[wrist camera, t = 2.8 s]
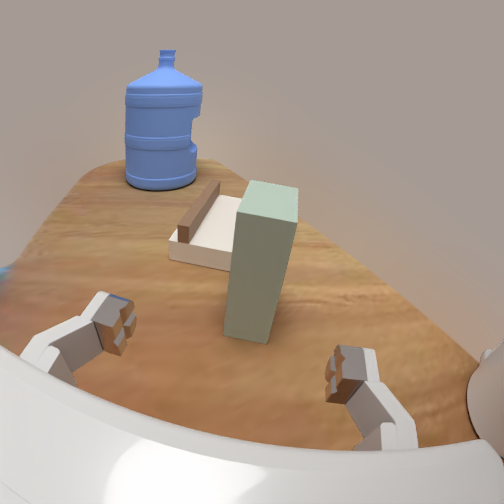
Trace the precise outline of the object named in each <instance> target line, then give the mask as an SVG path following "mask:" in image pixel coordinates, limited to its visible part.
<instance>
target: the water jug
mask: <svg viewBox="0 0 504 504" xmlns="http://www.w3.org/2000/svg"><path fill="white" fill-rule="evenodd" d="M175 52H176V50H160V58H159V66H158V68H157V70H155V71H153V72H152V73H149V74H148V75H145V76H144V77H141V78H140V79H138V80H136V81H134V82H132V83H130V84H128V86H127V90H126V96H125V105H126V123H125V124H126V125H125V127H126V128H125V146H126V170H125V172H126V180H127V181H128V183H129V184H131V185H132V186H134V187H137V188H140V189H145V190H170V189H176V188H180V187H183V186H185V185H188V184H189V183H191V182H192V181H193V180H194V179H195V177H196V170H197V167H196V158H197V146H196V145H195V144H194V143H193V142H192V141H191V128H192V120H193V119H194V118H196V117H198V116H199V115H200V106H201V102H202V84H201V83H198V82H197V81H195V80H193V79H191V78H190V77H187V76H186V75H184V74H182V73H180V72H178V71H176V70H175V68H174V61H175V57H174V55H175Z"/></svg>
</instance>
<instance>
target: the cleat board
mask: <svg viewBox="0 0 504 504" xmlns="http://www.w3.org/2000/svg"><path fill="white" fill-rule="evenodd" d="M219 190H220V181H214V180H211V181H210V183H209V184H208V185H207V187H206V188H205V189H204V190H203V192H202V193H201V194H200V196H199V197H198V198H197V199H196V201H195V202H194V203H193V205H192V206H191V207H190V209H189V210H188V211H187V213H186V214H185V215H184V217H183V218H182V219H181V221H180V222H179V223H178V228H177V229H176V230H175V232H174V233H173V235H172V236H171V237H170V239H169V259H171V260H175V261H180V262H185V263H190V264H195V265H200V266H205V267H210V268H215V269H220V270H225V271H230V266H231V257H232V248H233V239H234V230H235V222H236V213H237V210H238V207H239V205H240V203H241V201H242V199H240V198H235V197H229V196H223V195H219Z"/></svg>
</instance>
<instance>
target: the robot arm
mask: <svg viewBox="0 0 504 504" xmlns="http://www.w3.org/2000/svg"><path fill="white" fill-rule="evenodd" d="M133 309H134V303H133V301H131V300H128V299H125V298H122V297H119V296H116V295H113V294H109V293H106V292H103V291H100V292H98V293H97V294H96V295H95V297H94V298H93V299H92V301H91V302H90V303H89V305H88V306H87V307H86V309H85V310H84V312H83V313H82V314H81V316H75V317H73V318H71V319H69V320H67V321H65V322H63V323H60V324H58V325H56V326H54V327H52V328H50V329H48V330H46V331H44V332H41V333H39V334H37V335H35V336H34V337H33V338H32V340H31V341H30V342H29V344H28V345H27V347H26V348H25V349H24V351H23V352H22V354H21V355H20V357H18V356H17V355H15V354H14V353H12V352H10V351H9V350H7V349H6V348H4V347H3V346H1V345H0V504H504V465H503V462H502V459H501V457H503V458H504V339H503V341H502V342H501V343H500V344H499V345H498V346H497V347H496V348H495V349H494V350H492V349H487V350H485V351H484V352H483V353H482V355H481V358H480V365H479V367H478V368H477V369H476V370H475V372H474V373H473V374H472V376H471V378H470V381H469V384H468V389H467V403H468V410H469V414H470V418H471V421H472V423H473V426H474V428H475V430H476V432H477V434H478V436H479V437H480V439H477V440H472V441H467V442H461V443H455V444H449V445H442V446H434V447H425V448H418V441H417V433H416V426H415V421H414V420H413V419H412V417H411V416H410V415H409V414H408V412H407V411H406V410H405V409H404V407H403V406H402V405H401V404H400V403H399V401H398V400H397V399H396V398H395V396H394V395H393V394H392V393H391V391H390V390H389V389H388V388H387V387H386V385H385V384H384V383H383V382H380V378H379V372H378V366H377V360H376V354H375V351H374V349H369V348H361V347H354V346H346V345H337V346H336V348H335V350H334V355H333V356H332V357H330V359H329V361H328V363H327V367H326V373H325V379H326V380H327V382H328V383H329V384H328V385H327V387H326V388H325V389H326V402H329V403H338V404H345V406H346V408H347V410H348V412H349V413H350V415H351V417H352V418H353V420H354V422H355V424H356V425H357V427H358V429H359V431H360V432H361V434H362V436H363V438H364V439H363V440H362V441H361V442H359V443H358V444H357V445H356V446H355V447H353V451H339V450H319V449H306V448H296V447H286V446H278V445H271V444H264V443H257V442H251V441H245V440H240V439H235V438H230V437H225V436H220V435H215V434H211V433H207V432H203V431H198V430H195V429H191V428H187V427H183V426H180V425H176V424H173V423H169V422H166V421H163V420H159V419H156V418H153V417H150V416H147V415H144V414H141V413H138V412H135V411H133V410H130V409H127V408H124V407H122V406H119V405H116V404H114V403H111V402H109V401H106V400H104V399H102V398H99V397H97V396H94V395H92V394H90V393H88V392H85V391H83V390H81V389H79V388H77V385H78V384H77V381H76V380H75V378H74V376H73V374H72V373H73V372H74V371H76V370H77V369H79V368H80V367H82V366H83V365H85V364H86V363H87V362H89V361H90V360H92V359H93V358H95V357H96V356H98V355H99V354H101V353H102V352H103V351H106V352H109V353H112V354H115V355H118V356H121V355H122V354H123V352H124V350H125V348H126V346H127V341H126V339H128V338H130V337H132V335H133V333H134V331H135V327H136V315H135V314H134V312H133ZM500 456H501V457H500Z"/></svg>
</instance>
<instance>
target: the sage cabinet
mask: <svg viewBox="0 0 504 504" xmlns="http://www.w3.org/2000/svg"><path fill="white" fill-rule="evenodd" d="M297 222H298V188H292V187H287V186H282V185H277V184H272V183H266V182H260V181H255V180H251V181H250V183H249V185H248V187H247V189H246V192H245V194H244V196H243V198H242V201H241V203H240V205H239V207H238V210H237V213H236V222H235V230H234V239H233V248H232V257H231V266H230V275H229V285H228V294H227V304H226V314H225V324H224V334H223V336H228V337H232V338H237V339H242V340H247V341H253V342H258V343H263V344H267V341H268V338H269V334H270V330H271V327H272V323H273V319H274V315H275V312H276V308H277V304H278V300H279V296H280V292H281V288H282V285H283V281H284V277H285V273H286V269H287V265H288V260H289V256H290V252H291V248H292V244H293V240H294V236H295V231H296V227H297Z"/></svg>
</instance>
